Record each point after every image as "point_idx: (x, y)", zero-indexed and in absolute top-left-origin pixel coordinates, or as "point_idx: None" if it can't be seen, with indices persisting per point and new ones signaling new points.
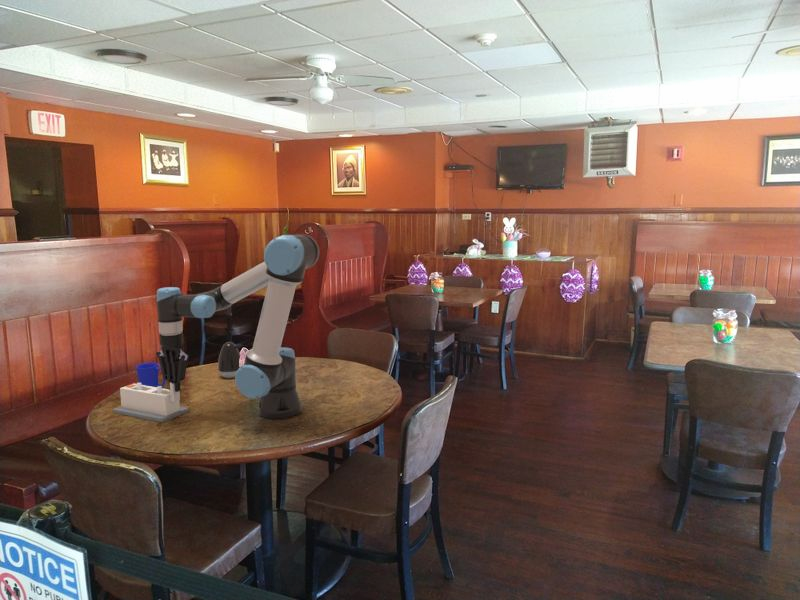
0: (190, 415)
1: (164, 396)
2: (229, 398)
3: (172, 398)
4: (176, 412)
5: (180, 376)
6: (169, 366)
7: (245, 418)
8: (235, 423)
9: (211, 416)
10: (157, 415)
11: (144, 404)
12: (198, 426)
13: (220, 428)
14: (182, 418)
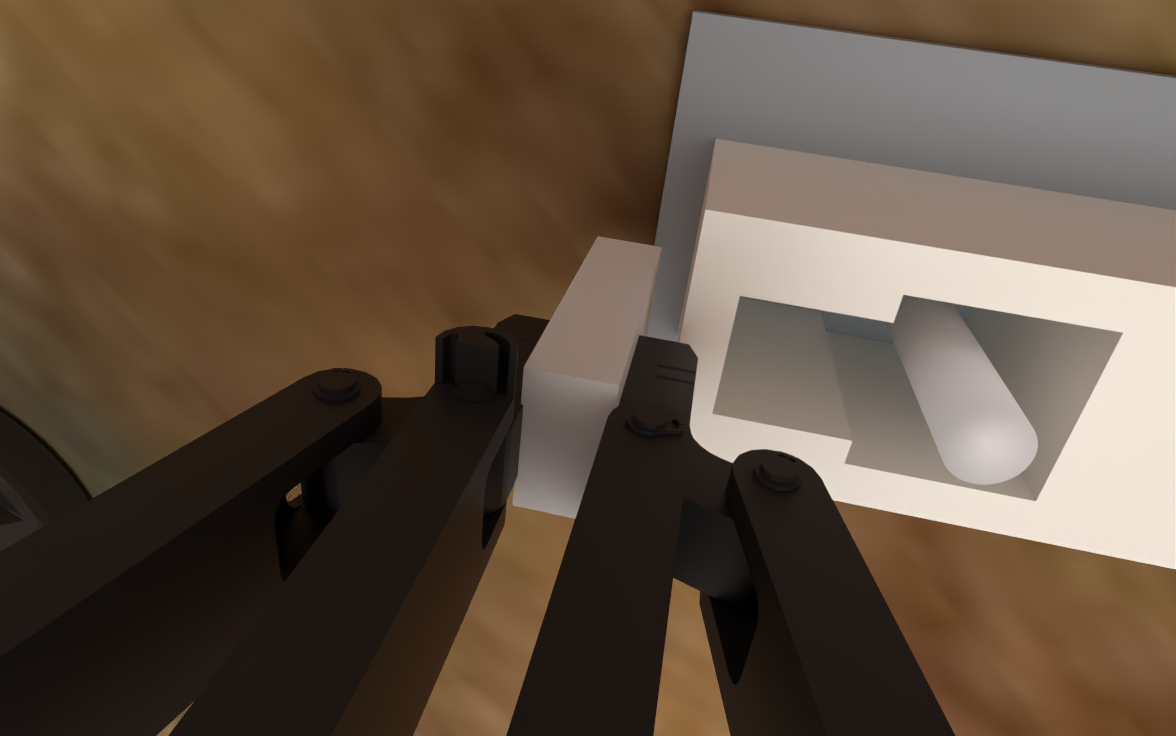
0: (538, 295)
1: (719, 207)
2: (505, 691)
3: (617, 254)
4: (668, 265)
5: (221, 442)
6: (510, 727)
7: (43, 336)
8: (9, 210)
9: (330, 316)
10: (841, 114)
11: (1160, 230)
12: (229, 33)
13: (6, 52)
14: (558, 199)
